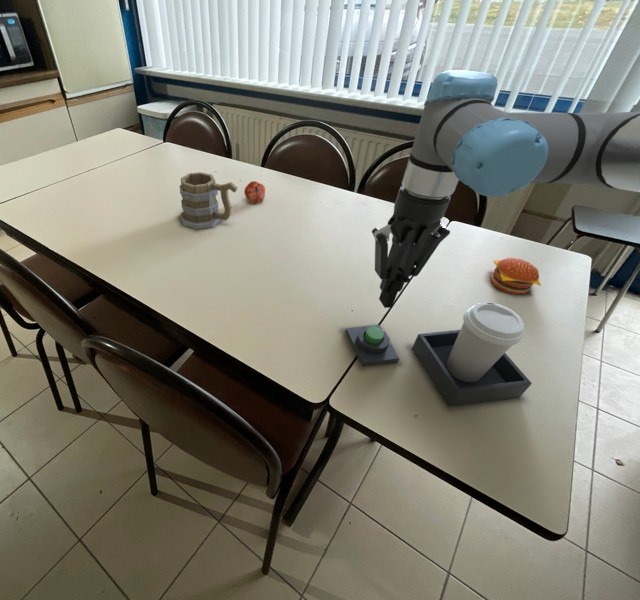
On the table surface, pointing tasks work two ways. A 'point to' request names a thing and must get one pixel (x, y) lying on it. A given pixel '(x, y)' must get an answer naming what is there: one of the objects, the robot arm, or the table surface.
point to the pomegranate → (254, 192)
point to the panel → (371, 347)
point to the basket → (492, 386)
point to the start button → (374, 335)
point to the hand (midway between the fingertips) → (385, 302)
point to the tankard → (203, 200)
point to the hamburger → (514, 275)
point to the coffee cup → (483, 340)
